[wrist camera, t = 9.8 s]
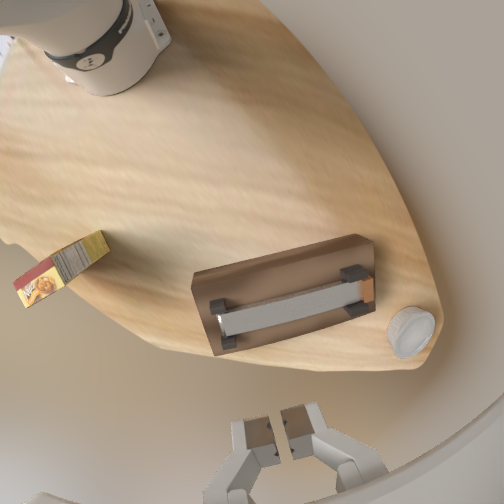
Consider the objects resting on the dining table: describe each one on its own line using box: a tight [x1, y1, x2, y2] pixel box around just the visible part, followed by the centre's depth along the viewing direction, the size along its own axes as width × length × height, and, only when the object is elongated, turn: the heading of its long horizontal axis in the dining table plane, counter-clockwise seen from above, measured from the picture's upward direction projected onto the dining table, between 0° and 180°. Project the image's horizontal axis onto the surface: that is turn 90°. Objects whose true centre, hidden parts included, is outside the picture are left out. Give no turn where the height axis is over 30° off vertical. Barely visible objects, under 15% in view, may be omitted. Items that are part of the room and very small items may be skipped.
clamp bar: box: [216, 275, 374, 338], centre depth 37 cm, size 4×23×2 cm, turn 102°
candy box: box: [13, 230, 110, 308], centre depth 31 cm, size 9×4×15 cm, turn 113°
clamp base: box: [191, 234, 376, 356], centre depth 40 cm, size 12×27×9 cm, turn 102°
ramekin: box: [387, 306, 435, 359], centre depth 48 cm, size 11×11×5 cm
